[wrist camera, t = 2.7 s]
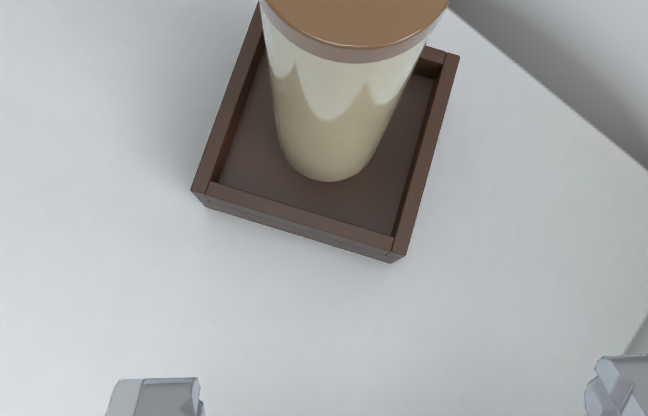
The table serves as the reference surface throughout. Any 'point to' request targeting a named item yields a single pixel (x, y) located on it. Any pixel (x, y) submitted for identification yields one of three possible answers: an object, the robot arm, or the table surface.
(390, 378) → the table surface
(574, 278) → the table surface
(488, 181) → the table surface
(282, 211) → the tray
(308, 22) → the cylindrical canister
